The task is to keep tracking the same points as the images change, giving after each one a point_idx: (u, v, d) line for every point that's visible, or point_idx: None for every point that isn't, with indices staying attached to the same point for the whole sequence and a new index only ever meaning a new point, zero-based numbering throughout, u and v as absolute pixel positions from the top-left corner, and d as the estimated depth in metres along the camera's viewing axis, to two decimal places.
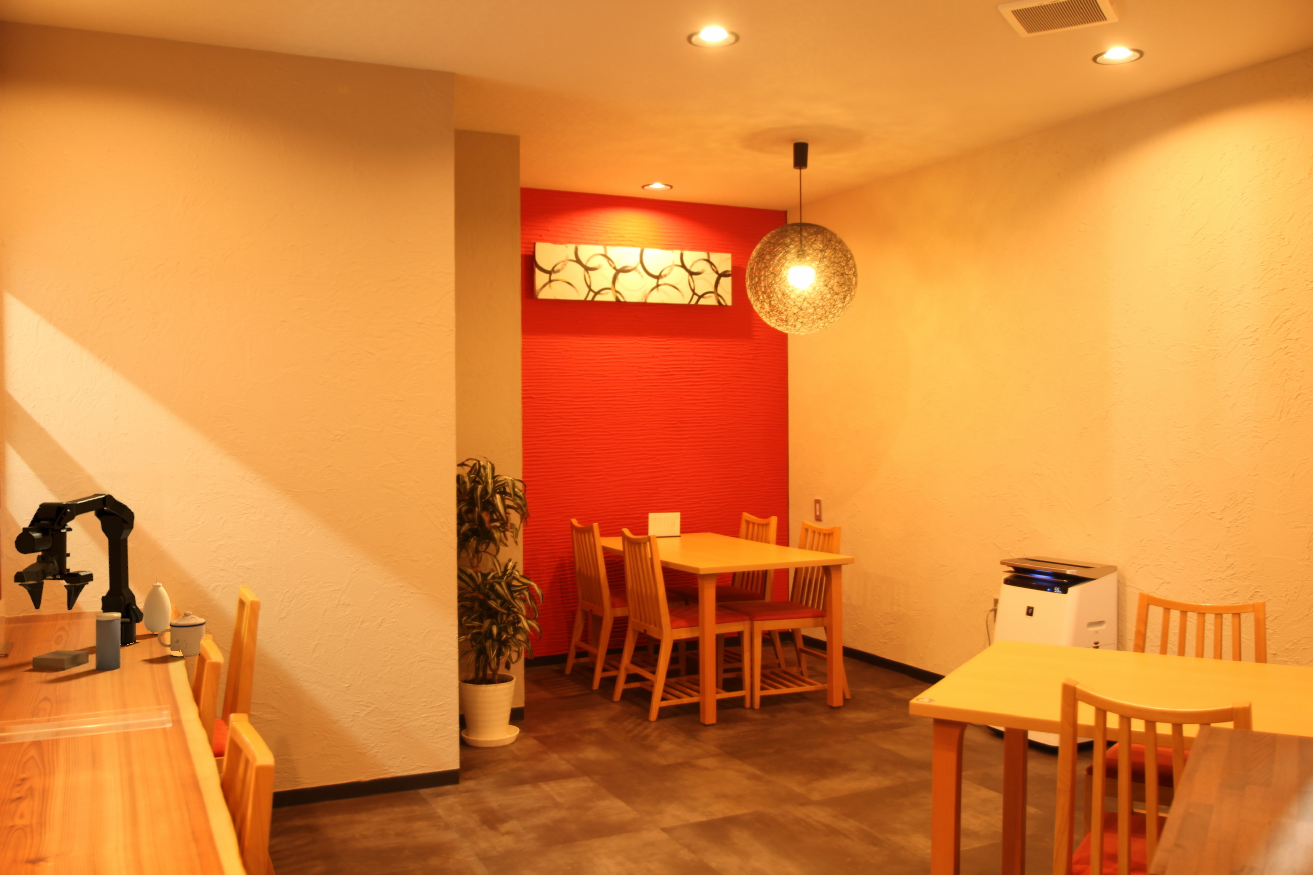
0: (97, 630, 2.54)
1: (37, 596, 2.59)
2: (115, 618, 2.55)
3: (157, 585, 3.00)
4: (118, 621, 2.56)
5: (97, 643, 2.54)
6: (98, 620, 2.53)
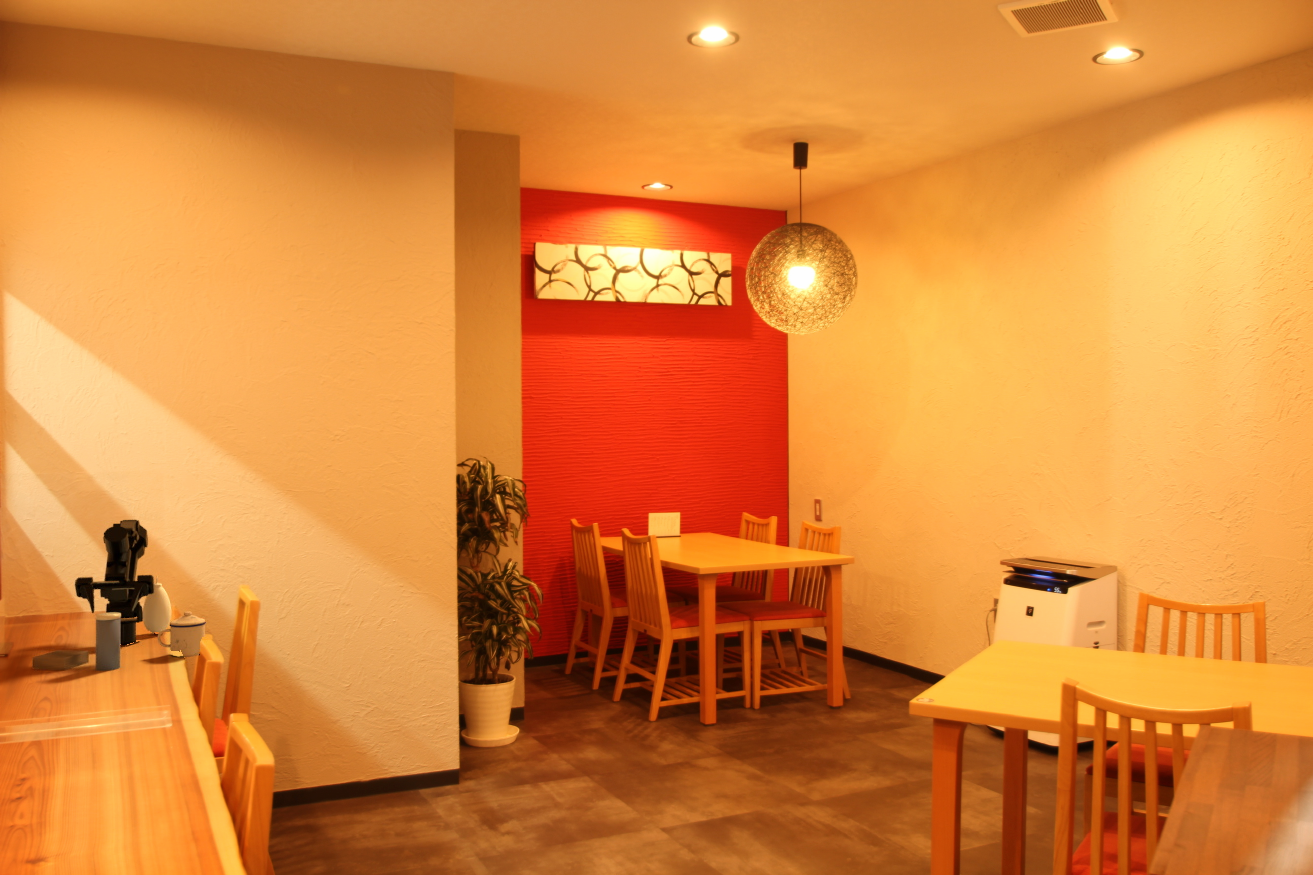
0: (97, 630, 2.54)
1: None
2: (115, 618, 2.55)
3: (157, 585, 3.00)
4: (118, 621, 2.56)
5: (97, 643, 2.54)
6: (98, 620, 2.53)
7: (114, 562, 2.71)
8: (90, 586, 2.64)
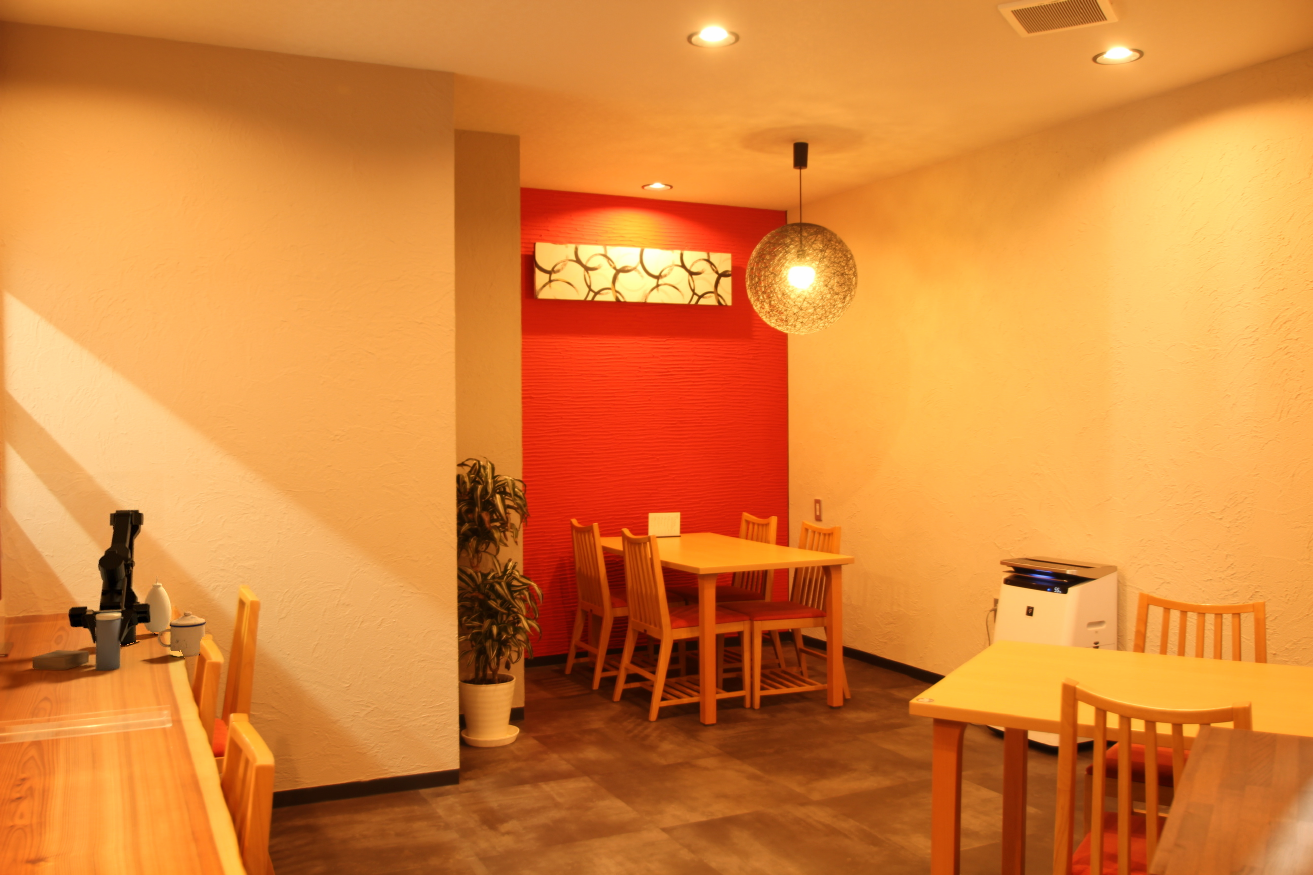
0: (97, 630, 2.54)
1: None
2: (115, 618, 2.55)
3: (157, 585, 3.00)
4: (118, 621, 2.56)
5: (97, 643, 2.54)
6: (98, 620, 2.53)
7: (109, 591, 2.62)
8: (91, 615, 2.56)
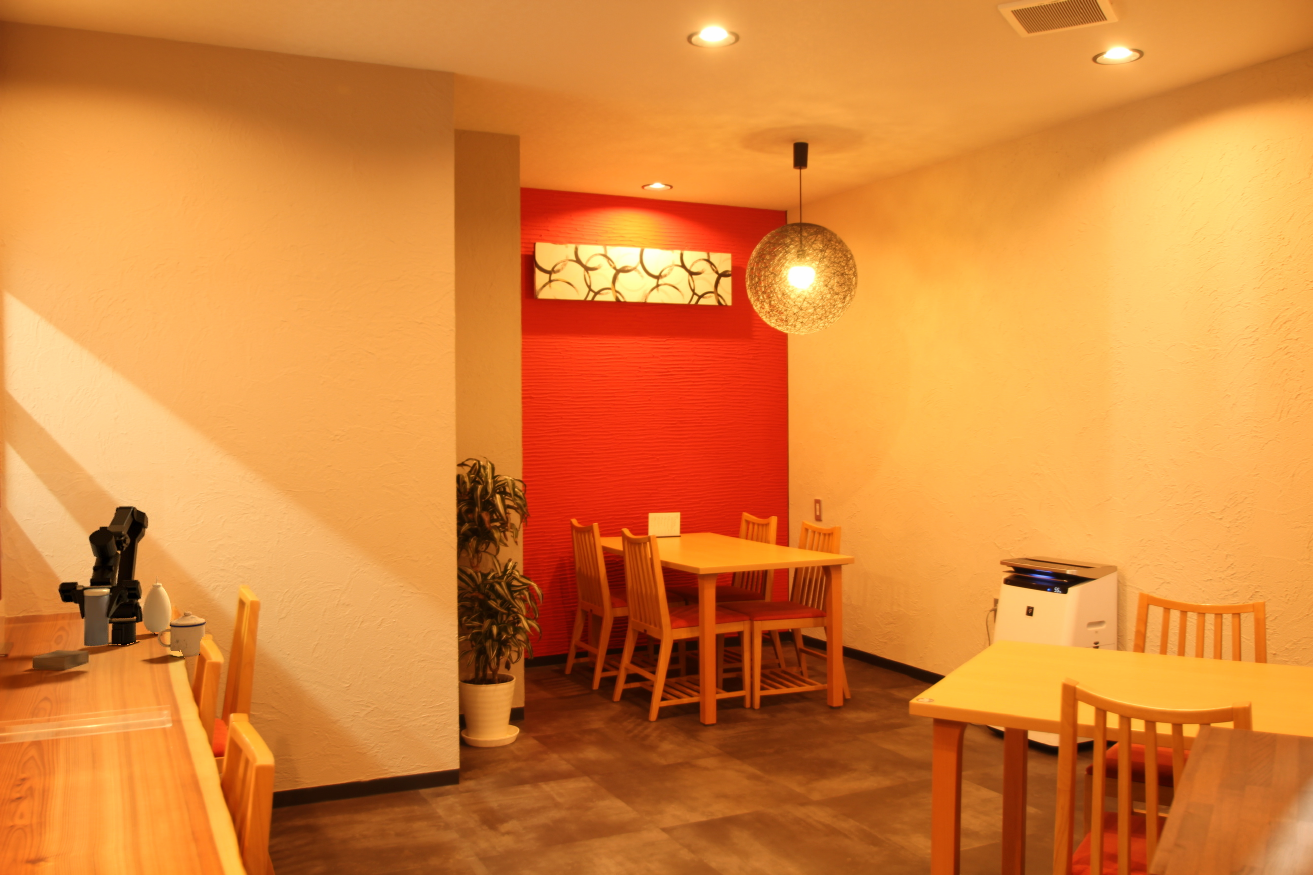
0: (85, 606, 2.54)
1: None
2: (103, 594, 2.55)
3: (157, 585, 3.00)
4: (106, 597, 2.56)
5: (85, 618, 2.54)
6: (86, 595, 2.54)
7: (100, 567, 2.62)
8: (80, 591, 2.56)
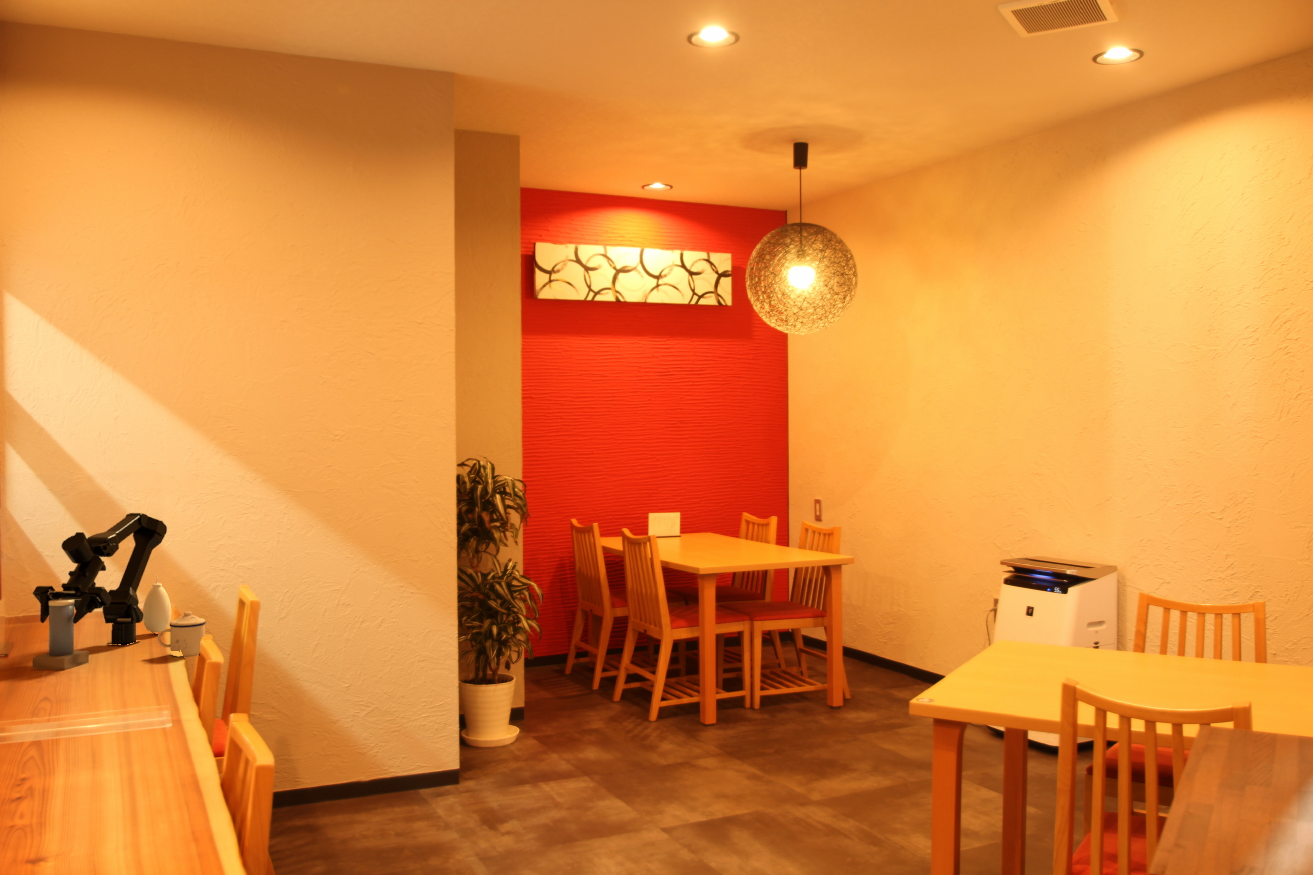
0: (49, 615, 2.57)
1: None
2: (63, 605, 2.57)
3: (157, 585, 3.00)
4: (67, 608, 2.58)
5: (49, 628, 2.57)
6: (49, 605, 2.57)
7: (75, 572, 2.65)
8: (44, 595, 2.60)
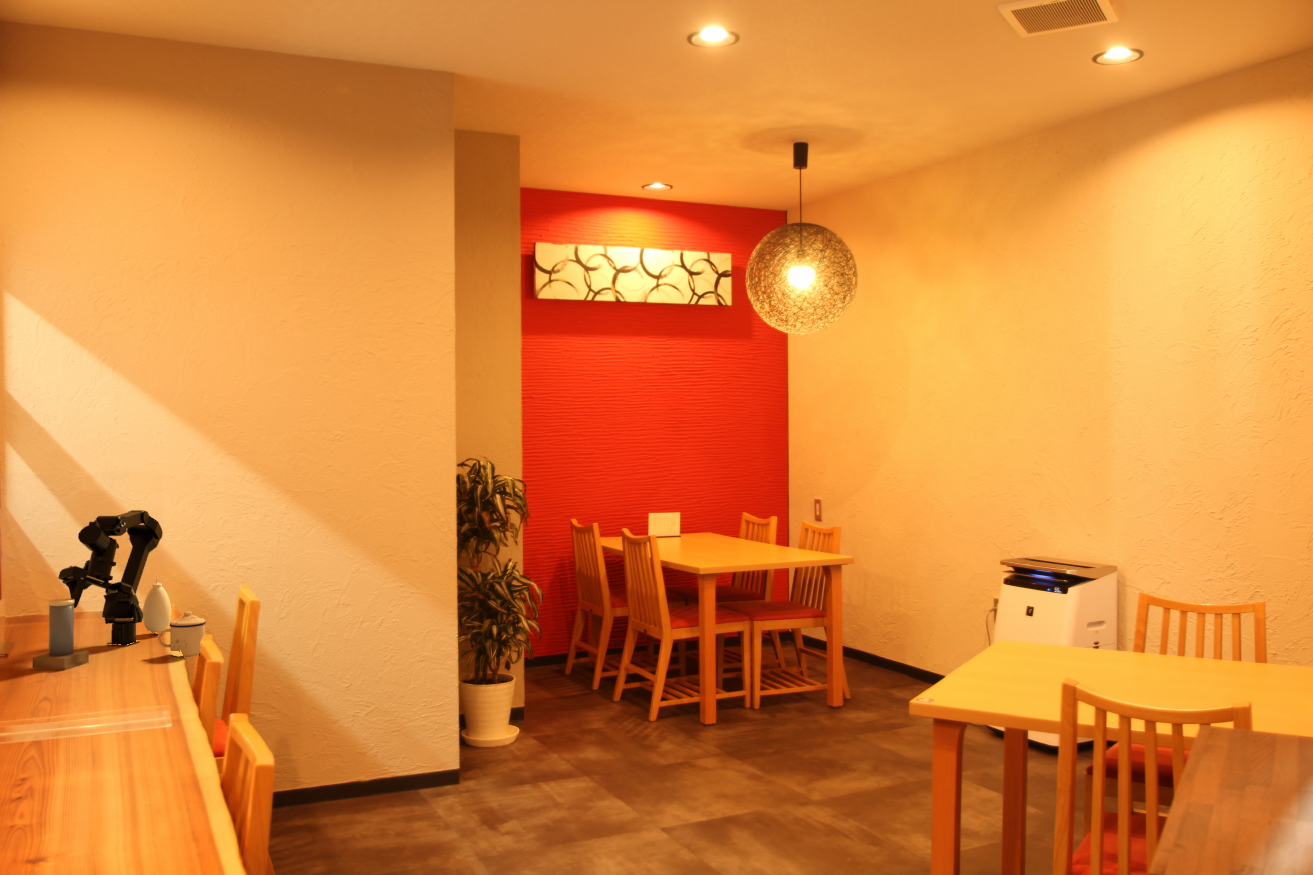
0: (49, 615, 2.57)
1: (106, 605, 2.71)
2: (63, 605, 2.57)
3: (157, 585, 3.00)
4: (67, 608, 2.58)
5: (49, 628, 2.57)
6: (49, 605, 2.57)
7: (107, 561, 2.71)
8: (84, 582, 2.63)
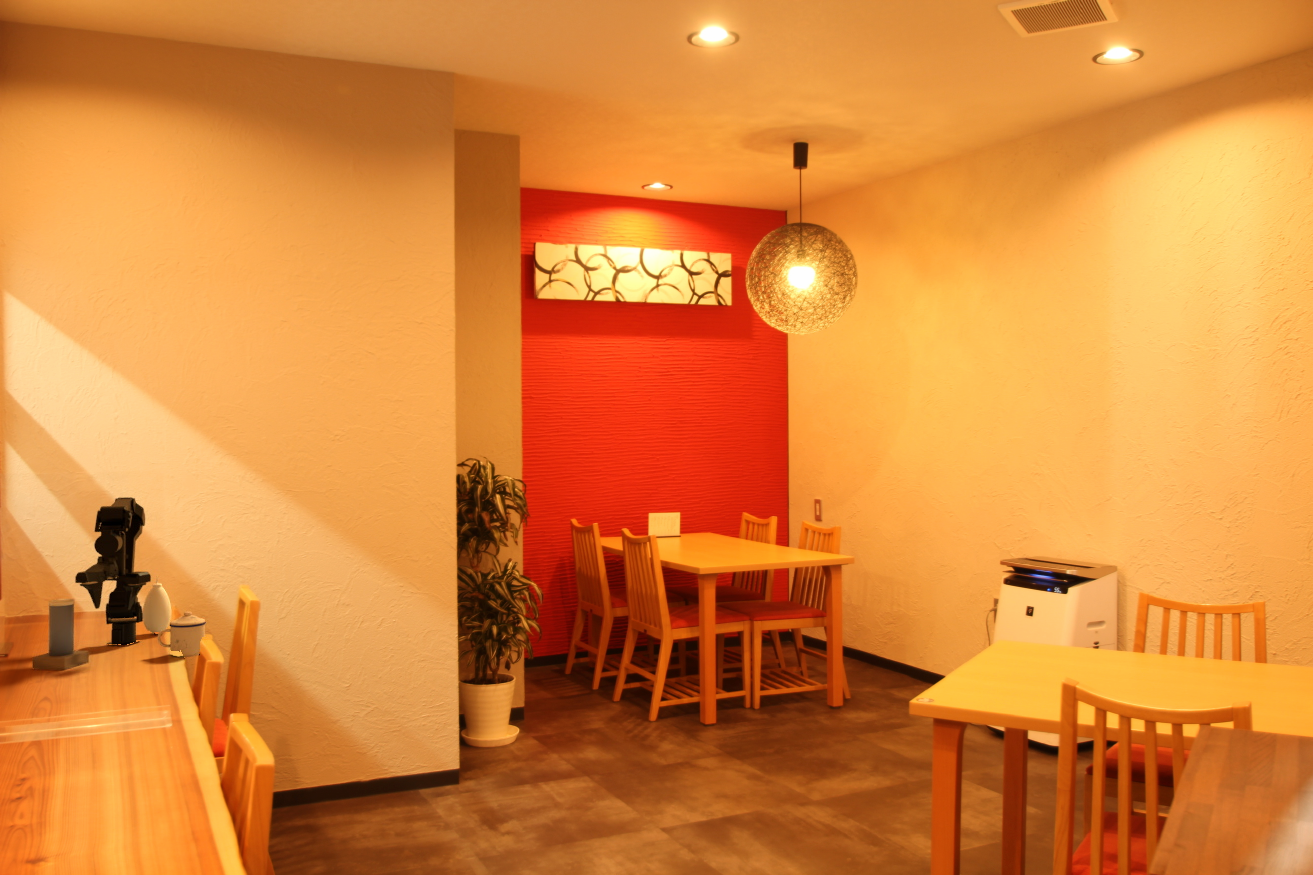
0: (49, 615, 2.57)
1: (97, 596, 2.71)
2: (63, 605, 2.57)
3: (157, 585, 3.00)
4: (67, 608, 2.57)
5: (49, 628, 2.57)
6: (49, 605, 2.57)
7: None
8: None
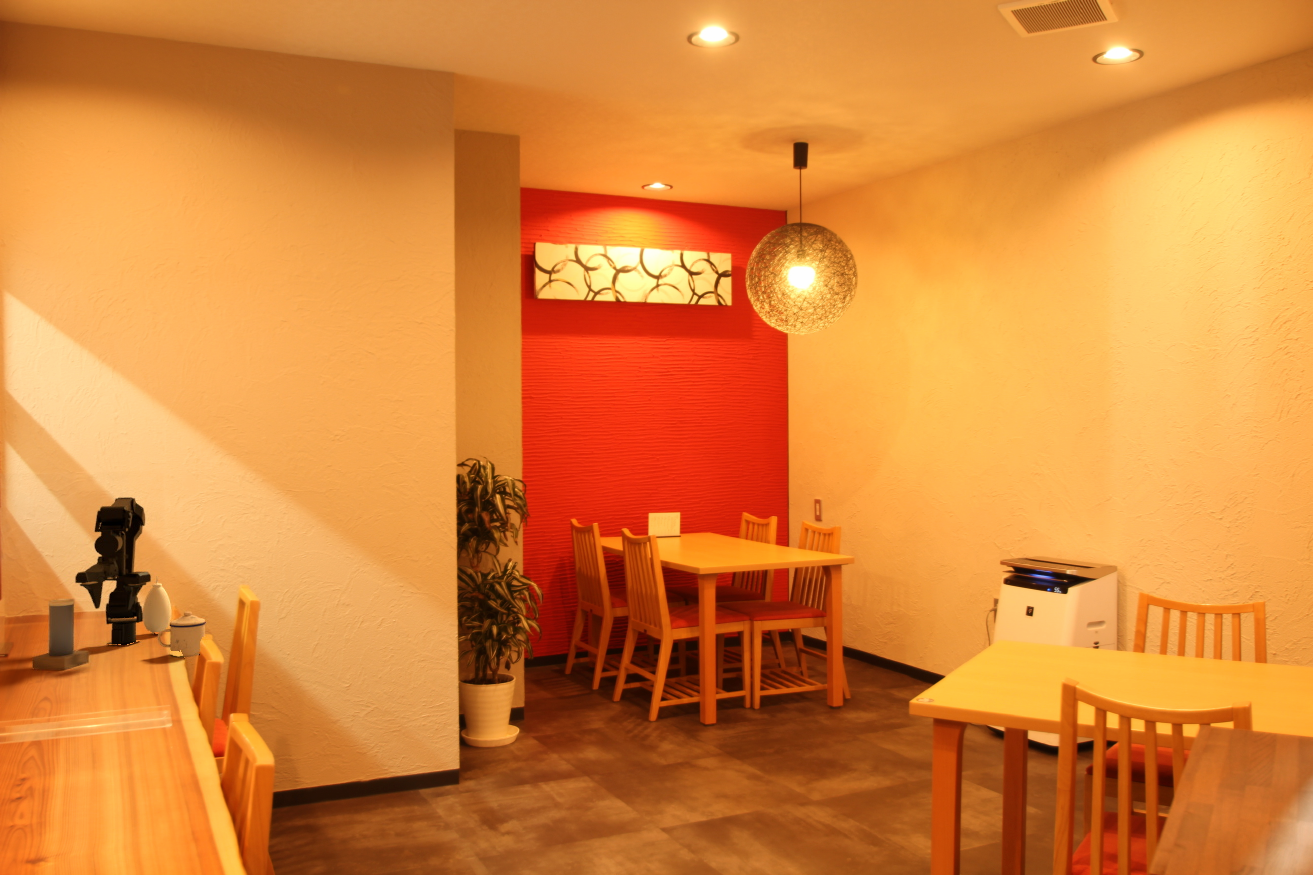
0: (49, 615, 2.57)
1: (97, 596, 2.71)
2: (63, 605, 2.57)
3: (157, 585, 3.00)
4: (67, 608, 2.57)
5: None
6: (49, 605, 2.57)
7: None
8: None
